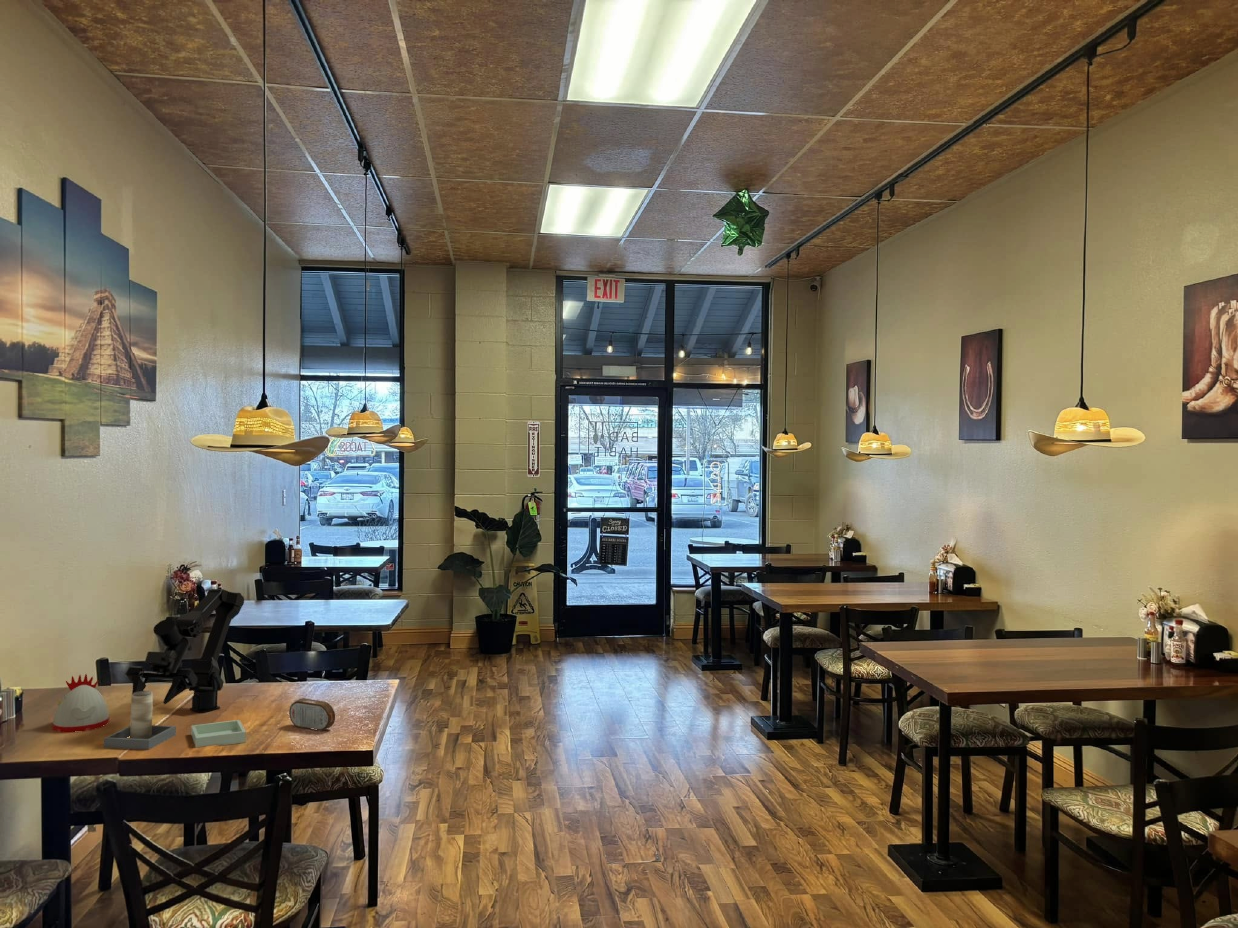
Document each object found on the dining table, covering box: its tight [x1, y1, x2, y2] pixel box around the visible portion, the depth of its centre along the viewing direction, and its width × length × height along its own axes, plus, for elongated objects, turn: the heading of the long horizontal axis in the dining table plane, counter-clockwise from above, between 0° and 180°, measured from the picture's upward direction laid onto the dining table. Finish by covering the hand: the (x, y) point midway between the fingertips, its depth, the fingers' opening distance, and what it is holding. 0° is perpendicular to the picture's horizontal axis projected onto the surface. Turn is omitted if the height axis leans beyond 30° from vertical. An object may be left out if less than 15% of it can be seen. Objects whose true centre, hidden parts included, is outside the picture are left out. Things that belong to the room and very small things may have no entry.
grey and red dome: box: [52, 673, 110, 733], centre depth 245 cm, size 14×14×15 cm
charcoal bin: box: [103, 724, 177, 751], centre depth 231 cm, size 13×13×3 cm
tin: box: [288, 697, 336, 731], centre depth 249 cm, size 15×3×8 cm, turn 71°
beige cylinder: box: [129, 690, 154, 739], centre depth 231 cm, size 5×5×13 cm
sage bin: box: [190, 719, 247, 748], centre depth 236 cm, size 13×13×3 cm
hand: (148, 702), depth 234 cm, fingers open, 9 cm apart
